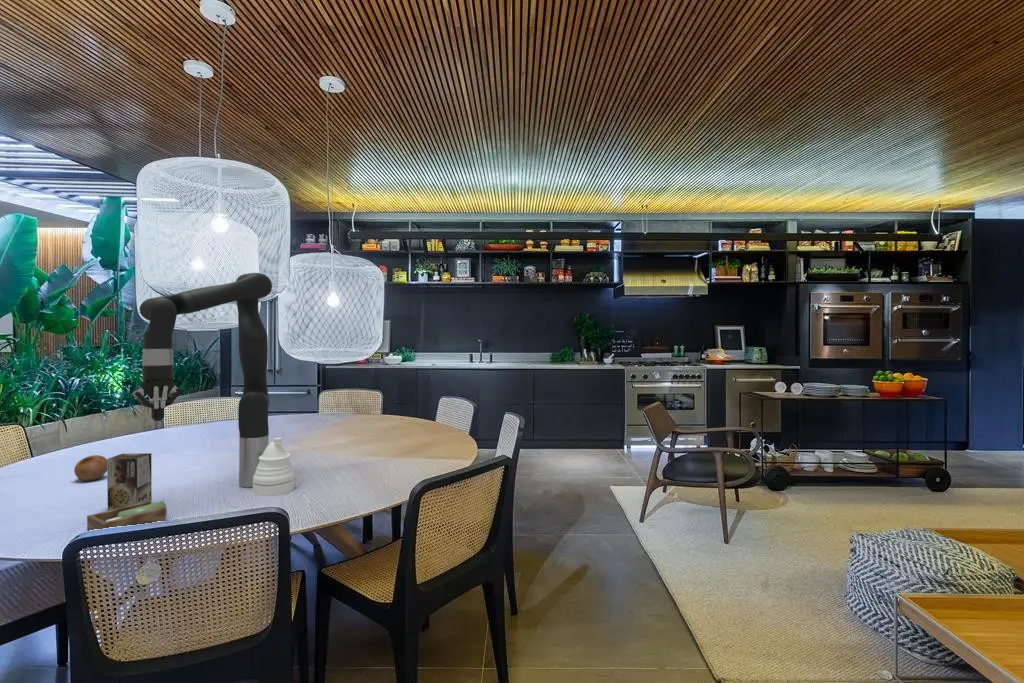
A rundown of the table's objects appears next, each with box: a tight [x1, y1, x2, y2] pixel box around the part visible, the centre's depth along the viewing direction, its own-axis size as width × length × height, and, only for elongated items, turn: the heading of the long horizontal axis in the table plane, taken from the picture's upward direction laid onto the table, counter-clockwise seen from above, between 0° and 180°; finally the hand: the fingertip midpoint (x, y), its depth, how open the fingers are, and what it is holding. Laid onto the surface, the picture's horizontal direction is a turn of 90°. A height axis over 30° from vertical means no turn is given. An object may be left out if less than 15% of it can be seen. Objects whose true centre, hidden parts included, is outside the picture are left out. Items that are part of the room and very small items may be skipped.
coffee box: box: [106, 452, 153, 511], centre depth 146 cm, size 9×6×16 cm
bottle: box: [105, 501, 168, 522], centre depth 133 cm, size 5×5×13 cm
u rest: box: [86, 501, 166, 531], centre depth 132 cm, size 14×11×4 cm
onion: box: [73, 454, 108, 482], centre depth 174 cm, size 10×9×10 cm
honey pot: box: [252, 437, 295, 497], centre depth 165 cm, size 13×13×18 cm
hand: (157, 420), depth 145 cm, fingers closed
